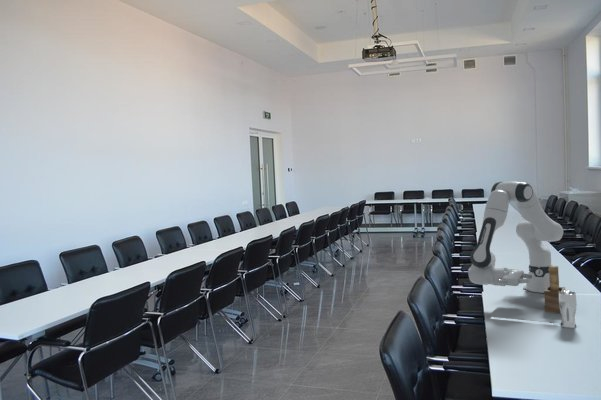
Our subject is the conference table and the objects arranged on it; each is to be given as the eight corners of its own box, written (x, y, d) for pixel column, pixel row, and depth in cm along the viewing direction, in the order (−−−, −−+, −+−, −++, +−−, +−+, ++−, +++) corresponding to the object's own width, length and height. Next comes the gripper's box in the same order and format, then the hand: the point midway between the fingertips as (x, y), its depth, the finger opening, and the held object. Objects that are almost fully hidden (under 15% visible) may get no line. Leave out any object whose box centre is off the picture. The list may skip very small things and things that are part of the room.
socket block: (547, 305, 243) (546, 286, 242) (565, 307, 239) (565, 287, 238) (545, 311, 235) (544, 291, 234) (563, 313, 230) (563, 292, 230)
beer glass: (575, 323, 219) (573, 290, 218) (579, 328, 212) (578, 294, 211) (557, 323, 221) (556, 290, 220) (561, 328, 214) (560, 294, 213)
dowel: (550, 297, 239) (549, 265, 238) (559, 298, 237) (558, 265, 236) (550, 300, 236) (548, 267, 235) (559, 300, 234) (558, 267, 233)
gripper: (496, 275, 240) (527, 277, 232) (504, 267, 257) (533, 268, 250) (497, 288, 240) (528, 290, 233) (505, 278, 257) (534, 280, 250)
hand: (531, 278), depth 241 cm, fingers open, 8 cm apart
